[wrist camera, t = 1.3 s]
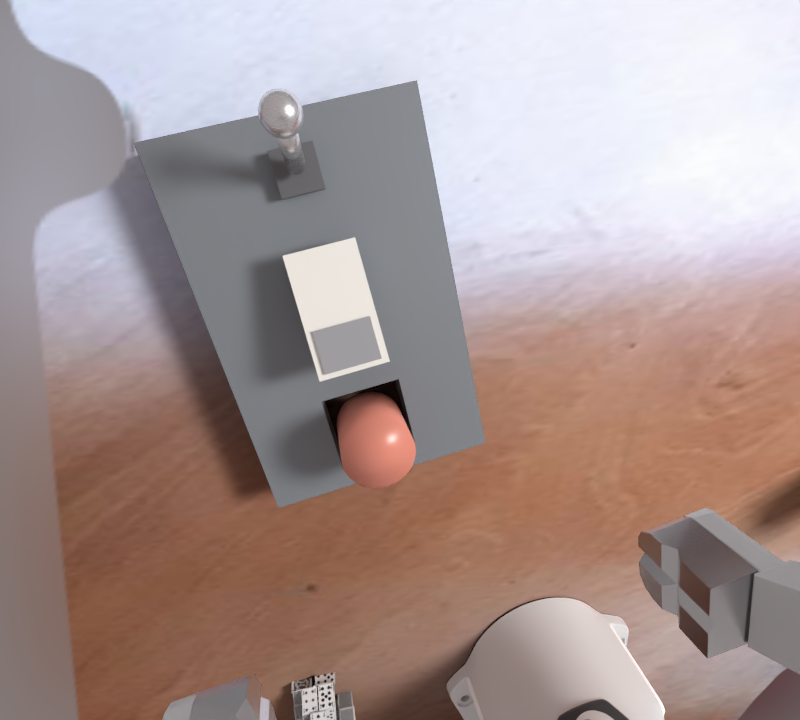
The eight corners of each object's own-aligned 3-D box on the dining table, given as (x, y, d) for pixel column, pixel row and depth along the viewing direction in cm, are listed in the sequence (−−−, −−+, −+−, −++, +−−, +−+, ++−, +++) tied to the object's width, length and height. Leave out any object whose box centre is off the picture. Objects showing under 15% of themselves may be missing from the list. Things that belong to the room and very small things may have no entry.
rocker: (387, 360, 26) (390, 361, 25) (320, 379, 26) (319, 381, 24) (354, 241, 25) (355, 236, 24) (285, 259, 25) (281, 255, 24)
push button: (407, 439, 31) (422, 474, 27) (346, 458, 31) (352, 497, 27) (393, 383, 30) (406, 411, 26) (328, 402, 29) (331, 433, 25)
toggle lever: (318, 181, 23) (306, 118, 18) (284, 190, 23) (261, 128, 17) (308, 148, 23) (293, 73, 18) (274, 156, 23) (248, 83, 17)
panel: (471, 424, 35) (491, 451, 31) (281, 483, 33) (277, 519, 29) (405, 94, 27) (421, 74, 23) (152, 151, 25) (124, 139, 21)
